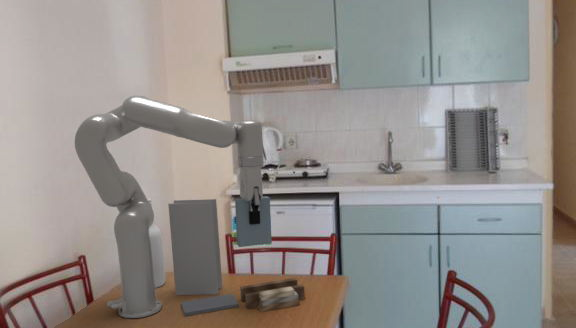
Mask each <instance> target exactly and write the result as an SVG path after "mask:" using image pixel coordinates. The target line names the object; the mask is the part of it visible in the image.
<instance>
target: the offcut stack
mask: <svg viewBox="0 0 576 328" xmlns="http://www.w3.org/2000/svg"><path fill="white" fill-rule="evenodd" d="M259 297H260V302H257V306H258V307H257V309H258V310H259V312H260V313H262V312H267V311H273V310H278V309H285V308H291V307H297V306H300V303H301V302H300V300H299V299H298V294H297V293H296V292H295V291H294V289H293V288H292V287H286V288H280V289H274V290H268V291H262V292H259Z"/></svg>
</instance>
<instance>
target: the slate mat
mask: <svg viewBox="0 0 576 328" xmlns="http://www.w3.org/2000/svg"><path fill="white" fill-rule="evenodd" d="M180 306H181V309H182V311H183V315H184V317H188V316H194V315H195V316H196V315H200V314H205V313H212V312H219V311H222V310H223V311H224V310H228V309H233V308H239V307H240V305H239V302H238V300H237V299H236V298H235V296H234V294H233V293H229V294H221V295H215V296H212V297H205V298H204V297H203V298H199V299H198V298H197V299H192V300H186V301H185V300H184V301H180Z"/></svg>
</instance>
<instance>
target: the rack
mask: <svg viewBox="0 0 576 328" xmlns="http://www.w3.org/2000/svg"><path fill="white" fill-rule="evenodd" d="M286 287H292V288H293V289H294V291H295V292H296V293H297V294H298V299H299V301H301V300H305V299H306V298H305V297H306V296H305V295H306V294H305V286H304V285H303V284H298V279H297V278H296V277H293V278H288V279H287V278H286V279H279V280H274V281H266V282H261V283H255V284H250V285H249V284H248V285H244V286H240V287H239V289H240V291H239V292H240V300H241V301H242V302H245V307H246V308H247V310H249V309H256V308H258V306H257V302H260V297H259V292H262V291H268V290H274V289H280V288H286Z"/></svg>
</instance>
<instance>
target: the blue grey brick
mask: <svg viewBox="0 0 576 328" xmlns="http://www.w3.org/2000/svg"><path fill="white" fill-rule="evenodd" d="M251 201H254V199H251ZM234 205H235V227H236V228H235V229H236V245H237V246H238V247H239V248H243V247H244V248H245V247H253V246H260V245H268V244H272V223H271V222H272V221H271V220H272V217H271V197H269V196H266V195H265V196H264V195H263V198H262V200H261V201H260V205H259V206H260V224H253V225H250V224H249V211H250V204H249V202H246V201H245V200H244V199H242V198H235V199H234ZM252 205H253V203H252Z"/></svg>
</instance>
